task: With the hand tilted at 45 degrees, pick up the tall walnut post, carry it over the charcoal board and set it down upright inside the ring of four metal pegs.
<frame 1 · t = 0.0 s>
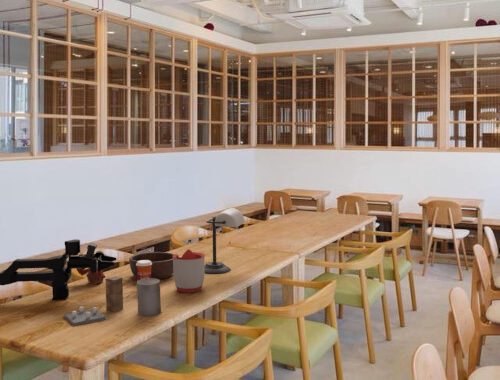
hand: (115, 261, 264), 17 cm above the table, tool horizontal, fingers open, 9 cm apart
pillar candle: (149, 313, 241), on the table
lamp: (220, 270, 312), on the table
walnut post: (114, 309, 245), on the table
mug: (91, 283, 289), on the table
paper cup: (144, 290, 275), on the table
wooden bowl: (153, 276, 302), on the table
citrus juicer: (188, 289, 276), on the table
peg nest: (84, 318, 234), on the table
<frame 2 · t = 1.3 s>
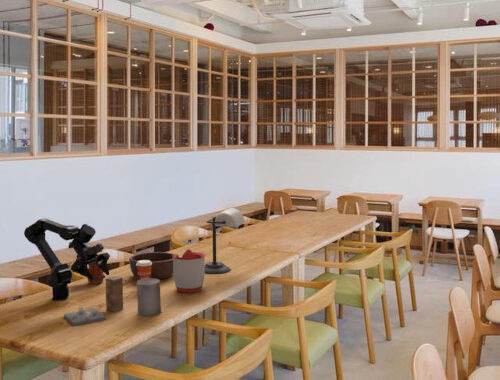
hand: (101, 277, 248), 13 cm above the table, tool tilted 45°, fingers open, 9 cm apart
nothing on the table moved.
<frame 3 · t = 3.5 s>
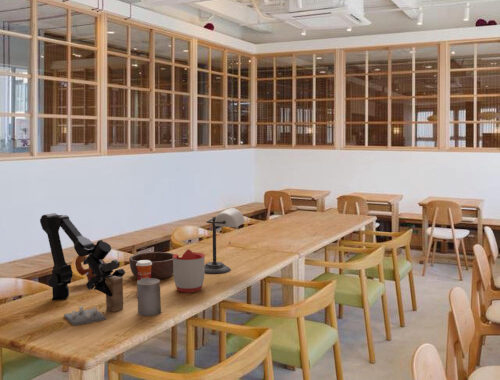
hand: (116, 294, 244), 7 cm above the table, tool tilted 45°, fingers open, 6 cm apart
walnut post: (114, 309, 245), on the table, touching gripper
everything else where it was.
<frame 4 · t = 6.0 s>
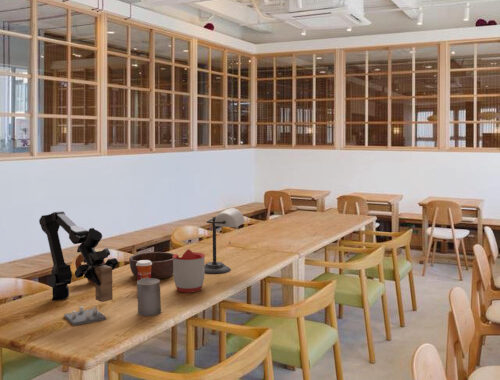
hand: (105, 283, 238), 13 cm above the table, tool tilted 45°, fingers closed on walnut post, 5 cm apart
walnut post: (104, 299, 240), point 6 cm above the table, touching gripper
everything else where it was.
when the fingers open (9 cm above the table, at t = 8.0 s): walnut post drops 1 cm, resting on peg nest.
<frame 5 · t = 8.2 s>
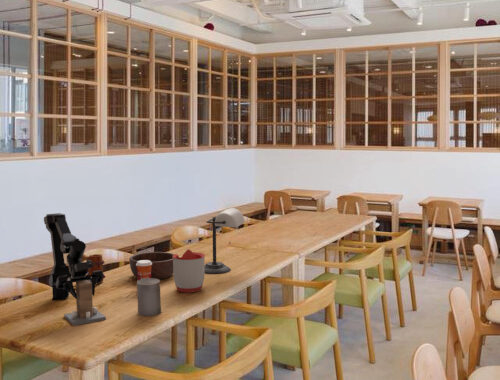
hand: (85, 296, 232), 9 cm above the table, tool tilted 45°, fingers open, 7 cm apart
walnut post: (84, 315, 234), point 1 cm above the table, touching peg nest
everything else where it was.
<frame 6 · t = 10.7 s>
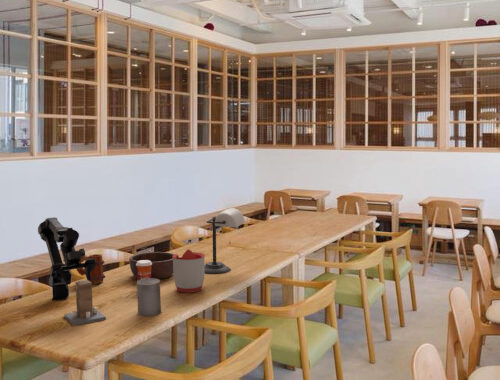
hand: (78, 284, 240), 13 cm above the table, tool tilted 45°, fingers open, 9 cm apart
nothing on the table moved.
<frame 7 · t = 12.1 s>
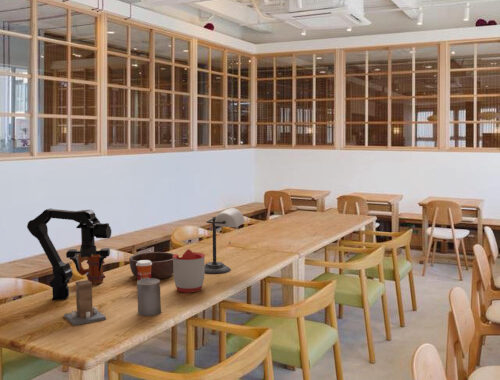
hand: (89, 271, 259), 13 cm above the table, tool pointing down, fingers open, 9 cm apart
nothing on the table moved.
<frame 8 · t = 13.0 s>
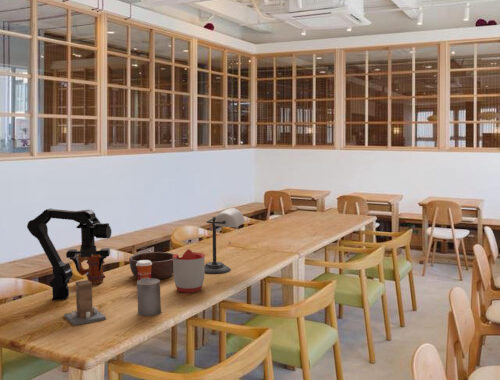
hand: (89, 271, 259), 13 cm above the table, tool pointing down, fingers open, 9 cm apart
nothing on the table moved.
at the end: walnut post 0.0 cm off-centre on the peg nest, point 1.2 cm above the peg nest's base; walnut post tilted 0°; the gripper is holding nothing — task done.
